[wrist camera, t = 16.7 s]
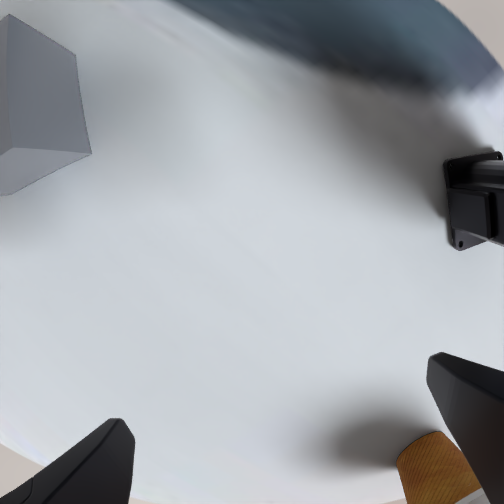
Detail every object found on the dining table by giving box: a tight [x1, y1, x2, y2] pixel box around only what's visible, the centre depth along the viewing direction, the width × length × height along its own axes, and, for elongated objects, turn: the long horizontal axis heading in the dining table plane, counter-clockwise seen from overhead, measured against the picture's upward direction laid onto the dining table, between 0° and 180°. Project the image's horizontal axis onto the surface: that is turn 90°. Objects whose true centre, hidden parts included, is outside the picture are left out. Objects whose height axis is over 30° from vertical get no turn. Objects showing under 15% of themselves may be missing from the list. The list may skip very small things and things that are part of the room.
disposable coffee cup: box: [396, 432, 490, 504], centre depth 19 cm, size 10×10×12 cm
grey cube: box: [0, 14, 92, 196], centre depth 12 cm, size 8×8×8 cm
